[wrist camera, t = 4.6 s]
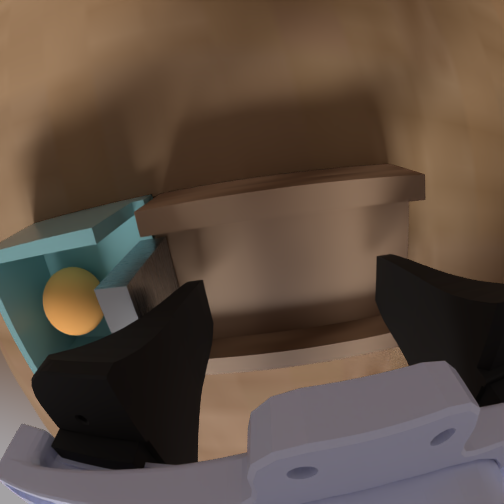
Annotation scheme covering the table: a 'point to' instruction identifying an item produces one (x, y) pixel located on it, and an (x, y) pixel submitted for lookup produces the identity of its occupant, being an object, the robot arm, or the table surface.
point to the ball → (72, 301)
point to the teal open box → (54, 259)
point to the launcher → (288, 260)
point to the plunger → (137, 283)
